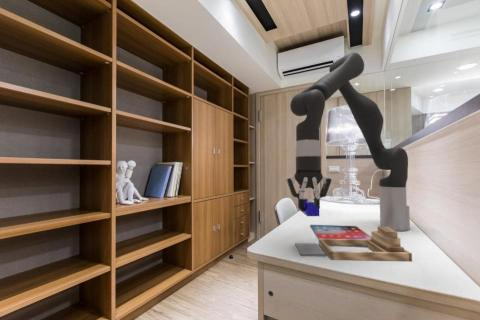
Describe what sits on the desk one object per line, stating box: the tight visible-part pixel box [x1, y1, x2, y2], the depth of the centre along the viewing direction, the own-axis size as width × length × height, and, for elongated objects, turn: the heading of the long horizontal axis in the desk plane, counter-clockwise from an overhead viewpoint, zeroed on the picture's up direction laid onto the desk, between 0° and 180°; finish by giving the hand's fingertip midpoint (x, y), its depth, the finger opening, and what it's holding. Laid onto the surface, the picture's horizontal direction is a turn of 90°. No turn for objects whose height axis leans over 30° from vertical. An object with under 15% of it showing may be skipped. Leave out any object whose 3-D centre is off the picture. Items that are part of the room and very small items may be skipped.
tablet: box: [309, 224, 371, 249], centre depth 83 cm, size 19×25×1 cm
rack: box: [318, 239, 413, 262], centre depth 67 cm, size 21×12×2 cm, turn 87°
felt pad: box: [294, 242, 327, 257], centre depth 68 cm, size 7×9×1 cm
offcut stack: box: [370, 226, 405, 252], centre depth 66 cm, size 5×9×6 cm, turn 177°
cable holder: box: [300, 197, 320, 217], centre depth 68 cm, size 8×4×4 cm, turn 179°
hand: (308, 210), depth 69 cm, fingers closed on cable holder, 3 cm apart
